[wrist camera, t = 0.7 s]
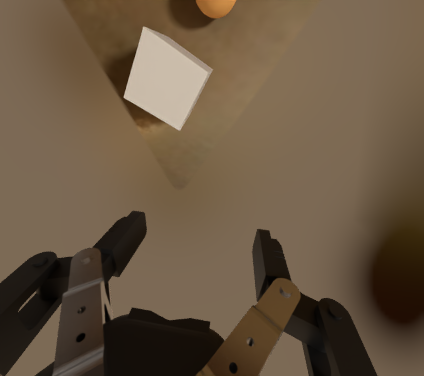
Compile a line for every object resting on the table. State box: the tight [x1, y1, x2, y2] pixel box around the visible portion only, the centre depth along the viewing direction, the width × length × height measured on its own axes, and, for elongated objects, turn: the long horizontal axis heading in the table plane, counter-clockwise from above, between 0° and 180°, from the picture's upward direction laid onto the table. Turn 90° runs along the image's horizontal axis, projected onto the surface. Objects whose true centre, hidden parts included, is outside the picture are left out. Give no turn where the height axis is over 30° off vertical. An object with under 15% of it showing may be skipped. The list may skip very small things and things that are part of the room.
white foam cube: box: [124, 27, 213, 131], centre depth 24 cm, size 7×7×9 cm
